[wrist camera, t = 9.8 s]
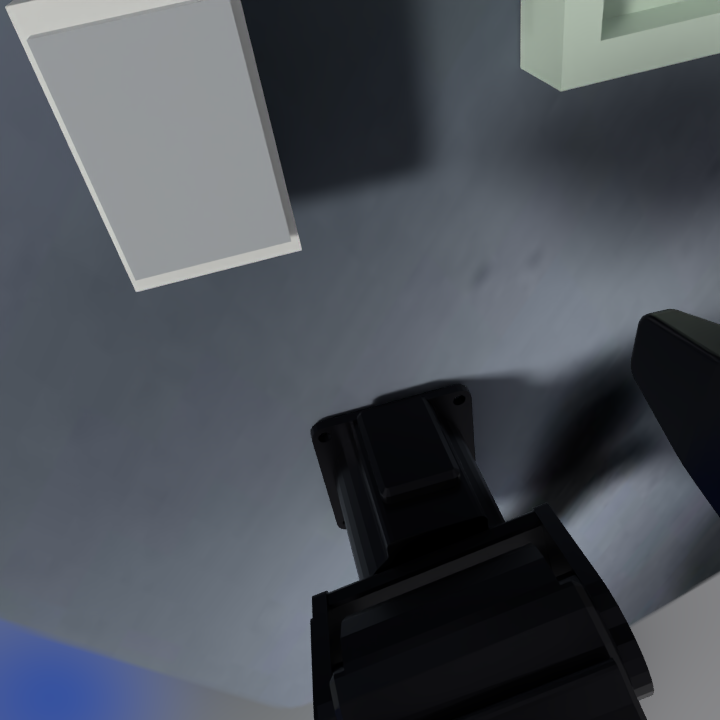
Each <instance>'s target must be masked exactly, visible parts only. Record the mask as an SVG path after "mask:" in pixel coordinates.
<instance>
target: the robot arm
mask: <svg viewBox="0 0 720 720" xmlns="http://www.w3.org/2000/svg"><path fill="white" fill-rule="evenodd" d="M631 370H632V374H633V377H634V379H635V381H636V383H637V384H638V386H639V388H640V390H641V392H642V393H643V395H644V397H645V399H646V401H647V402H648V404H649V406H650V408H651V409H652V411H653V413H654V415H655V417H656V418H657V420H658V422H659V424H660V426H661V427H662V429H663V431H664V433H665V435H666V436H667V438H668V440H669V442H670V444H671V445H672V447H673V449H674V451H675V452H676V454H677V456H678V457H679V459H680V461H681V462H682V464H683V466H684V467H685V469H686V470H687V472H688V473H689V475H690V476H691V478H692V479H693V481H694V482H695V483H696V485H697V486H698V488H699V489H700V490H701V492H702V493H703V495H704V496H705V497H706V499H707V500H708V502H709V503H710V504H711V506H712V507H713V509H714V510H715V511H716V513H717V514H718V516H719V517H720V325H719V324H717V323H714V322H711V321H708V320H705V319H702V318H699V317H696V316H693V315H690V314H687V313H684V312H681V311H679V310H675V309H666V310H662V311H657V312H653V313H649V314H646V315H644V316H643V317H642V318H641V319H640V321H639V324H638V328H637V333H636V338H635V343H634V348H633V352H632V357H631ZM460 395H461V396H460ZM457 396H460V397H458V398H456V399H455V397H457ZM322 433H327V434H325V435H320V434H322ZM311 438H312V442H313V445H314V449H315V452H316V455H317V459H318V462H319V465H320V469H321V472H322V475H323V479H324V482H325V485H326V488H327V492H328V495H329V498H330V502H331V505H332V508H333V512H334V515H335V518H336V522H337V525H338V527H339V528H341V529H347V533H348V537H349V541H350V545H351V549H352V553H353V557H354V561H355V564H356V568H357V572H358V576H359V581H357V582H354V583H352V584H349V585H347V586H344V587H342V588H339V589H337V590H334V591H332V592H328V591H324V592H322V593H319V594H317V595H314V596H312V613H313V618H312V619H311V620H310V625H311V653H312V680H313V705H314V706H313V708H314V720H647V719H646V716H645V714H644V712H643V710H642V708H641V705H640V703H639V700H641V699H644V698H646V697H649V696H651V695H653V693H654V688H653V683H652V679H651V676H650V673H649V670H648V667H647V665H646V662H645V660H644V657H643V655H642V653H641V650H640V648H639V646H638V644H637V641H636V639H635V637H634V635H633V633H632V631H631V629H630V627H629V625H628V623H627V621H626V619H625V617H624V615H623V614H622V612H621V610H620V608H619V606H618V604H617V603H616V601H615V599H614V598H613V596H612V594H611V593H610V591H609V589H608V588H607V586H606V585H605V583H604V582H603V580H602V579H601V578H600V576H599V575H598V573H597V572H596V571H595V569H594V568H593V566H592V565H591V564H590V562H589V561H588V559H587V558H586V556H585V555H584V554H583V552H582V551H581V549H580V548H579V547H578V545H577V544H576V542H575V541H574V540H573V538H572V537H571V535H570V534H569V533H568V531H567V530H566V528H565V527H564V526H563V524H562V523H561V521H560V520H559V519H558V517H557V516H556V514H555V513H554V512H553V510H552V509H551V507H550V506H549V505H548V503H544V504H542V505H539V506H537V507H534V508H532V511H531V512H529V513H526V514H524V515H521V516H519V517H516V518H514V519H511V520H509V521H506V522H505V520H504V518H503V516H502V514H501V512H500V510H499V508H498V506H497V504H496V502H495V500H494V498H493V496H492V494H491V492H490V490H489V488H488V486H487V484H486V482H485V480H484V478H483V476H482V474H481V472H480V470H479V468H478V466H477V464H476V462H475V448H474V432H473V415H472V399H471V394H470V392H469V391H468V389H467V387H466V386H465V385H462V384H456V385H452V386H448V387H445V388H441V389H438V390H434V391H430V392H427V393H423V394H419V395H416V396H412V397H408V398H405V399H401V400H398V401H394V402H390V403H387V404H383V405H379V406H376V407H372V408H368V409H365V410H361V411H357V412H354V413H350V414H347V415H343V416H339V417H336V418H332V419H328V420H325V421H321V422H319V423H316V424H315V425H314V426H313V427H312V428H311Z"/></svg>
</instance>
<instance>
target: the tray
mask: <svg viewBox="0 0 720 720" xmlns="http://www.w3.org/2000/svg"><path fill="white" fill-rule="evenodd" d="M718 53H720V0H521V63H520V68H521V69H523V70H525V71H526V72H528V73H530V74H531V75H533V76H535V77H537V78H538V79H540V80H542V81H544V82H545V83H547V84H549V85H551V86H552V87H554V88H556V89H557V90H559V91H565V90H569V89H573V88H578V87H582V86H586V85H590V84H594V83H598V82H602V81H606V80H611V79H615V78H619V77H623V76H627V75H631V74H635V73H640V72H644V71H648V70H652V69H656V68H660V67H664V66H668V65H673V64H677V63H681V62H685V61H689V60H693V59H697V58H702V57H706V56H710V55H714V54H718Z"/></svg>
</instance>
